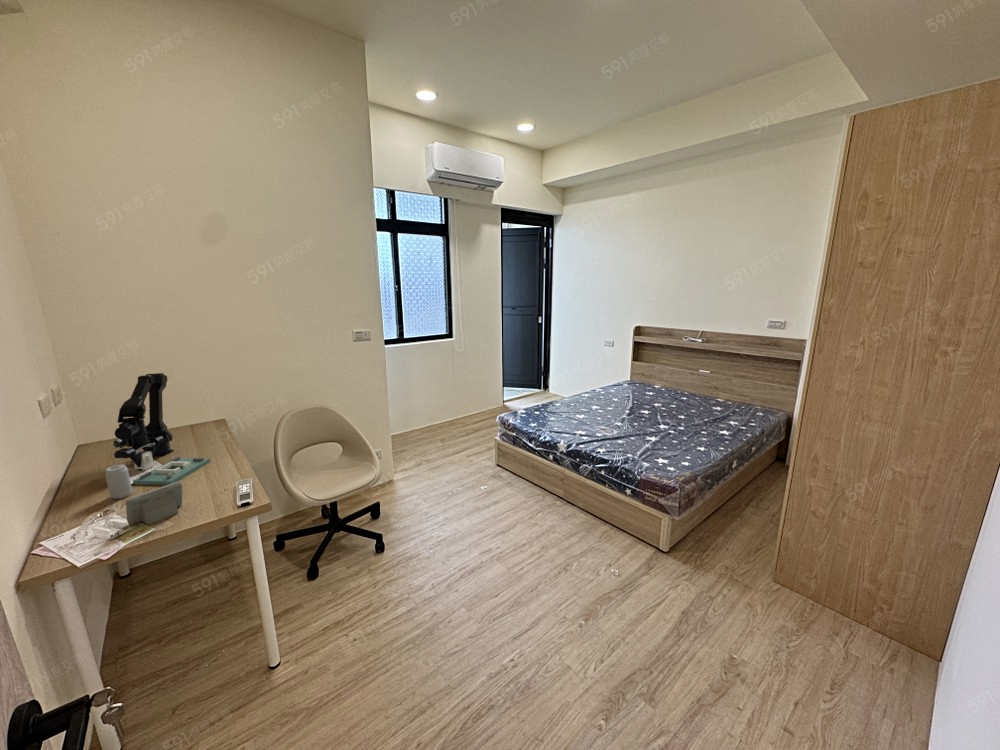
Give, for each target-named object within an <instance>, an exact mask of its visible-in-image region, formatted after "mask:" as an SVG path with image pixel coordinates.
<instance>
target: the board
mask: <svg viewBox="0 0 1000 750" xmlns="http://www.w3.org/2000/svg"><path fill="white" fill-rule="evenodd" d="M210 463H211V458H204V457H191V458H190V457H189V458H188V457H180V456H176V457H174V458H172V459H171V460H170V461H168V462H166V463H164V464H162V465H160V466H158V467H156V468H155V469H153V470H151V471H148V472H145V473H144V474H141V475H140V476H139V477H137V478H135V479H133V480H132V484H133V485H143V486H145V485H151V486H153V485H156V486H159V485H160V486H166V485H169V484H172V483H175V482H180V481H181V480H182V479H184V478H186V477H187V476H189V475H190V474H192V473H194V472H196V471H197V470H199V469H201V468H203V467H204V466H206V465H207V464H210Z"/></svg>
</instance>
